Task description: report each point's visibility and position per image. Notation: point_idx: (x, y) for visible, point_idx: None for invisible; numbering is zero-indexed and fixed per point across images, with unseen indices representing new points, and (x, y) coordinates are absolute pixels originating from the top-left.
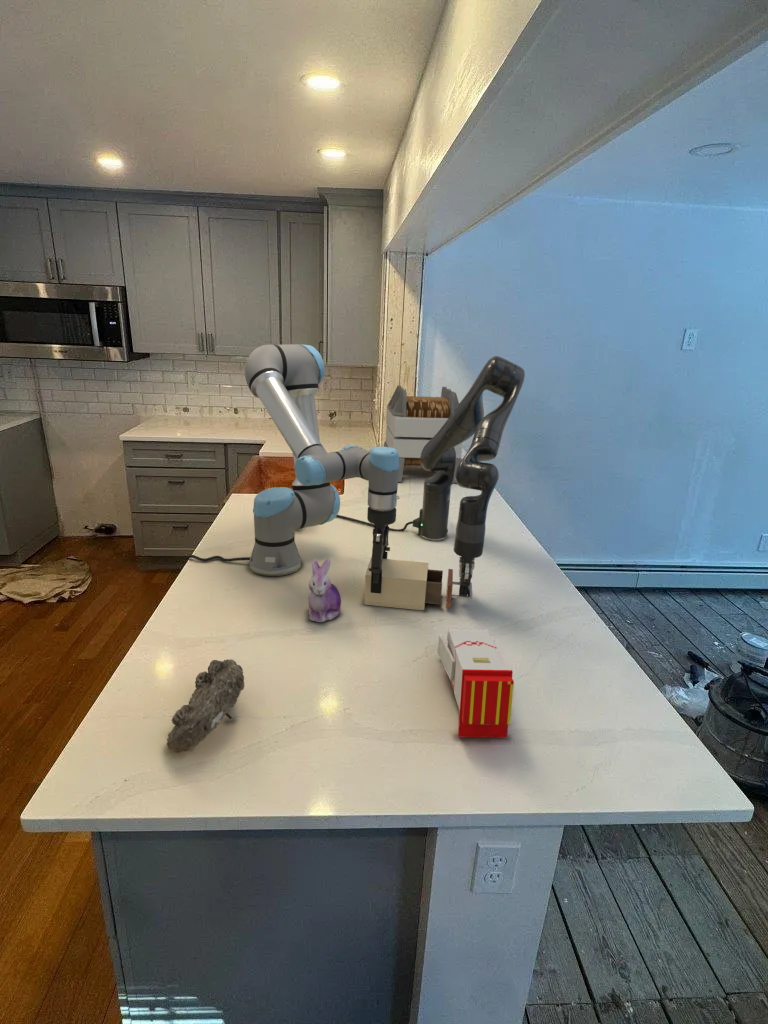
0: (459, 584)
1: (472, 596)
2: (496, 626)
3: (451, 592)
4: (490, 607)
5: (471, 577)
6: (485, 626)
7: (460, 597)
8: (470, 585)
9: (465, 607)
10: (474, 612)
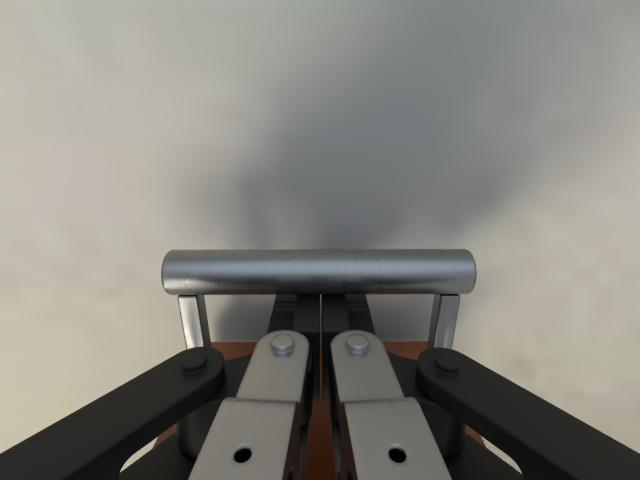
0: (209, 344)
1: (445, 257)
2: (616, 31)
3: (482, 442)
4: (329, 64)
5: (413, 405)
6: (607, 119)
7: (450, 342)
8: (244, 277)
9: (359, 244)
10: (419, 189)
